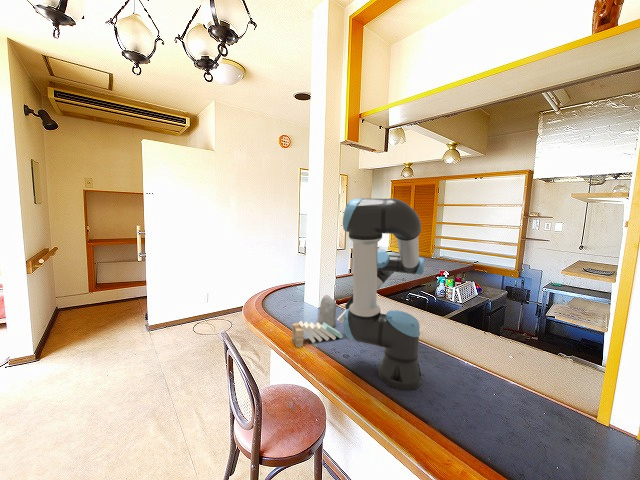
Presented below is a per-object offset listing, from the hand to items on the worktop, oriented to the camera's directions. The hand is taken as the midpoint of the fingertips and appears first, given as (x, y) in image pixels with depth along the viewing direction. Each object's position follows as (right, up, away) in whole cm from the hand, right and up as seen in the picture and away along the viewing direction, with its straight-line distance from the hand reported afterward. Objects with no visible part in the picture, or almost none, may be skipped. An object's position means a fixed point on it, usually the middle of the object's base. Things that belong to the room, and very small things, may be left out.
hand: (339, 321), depth 127 cm
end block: (-19, -8, -6) cm, 22 cm away
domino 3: (-6, -7, -1) cm, 9 cm away
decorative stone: (-6, -6, +15) cm, 17 cm away
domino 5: (+1, -7, +1) cm, 7 cm away
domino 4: (-3, -7, 0) cm, 7 cm away
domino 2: (-9, -7, -2) cm, 12 cm away
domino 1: (-13, -7, -3) cm, 15 cm away
